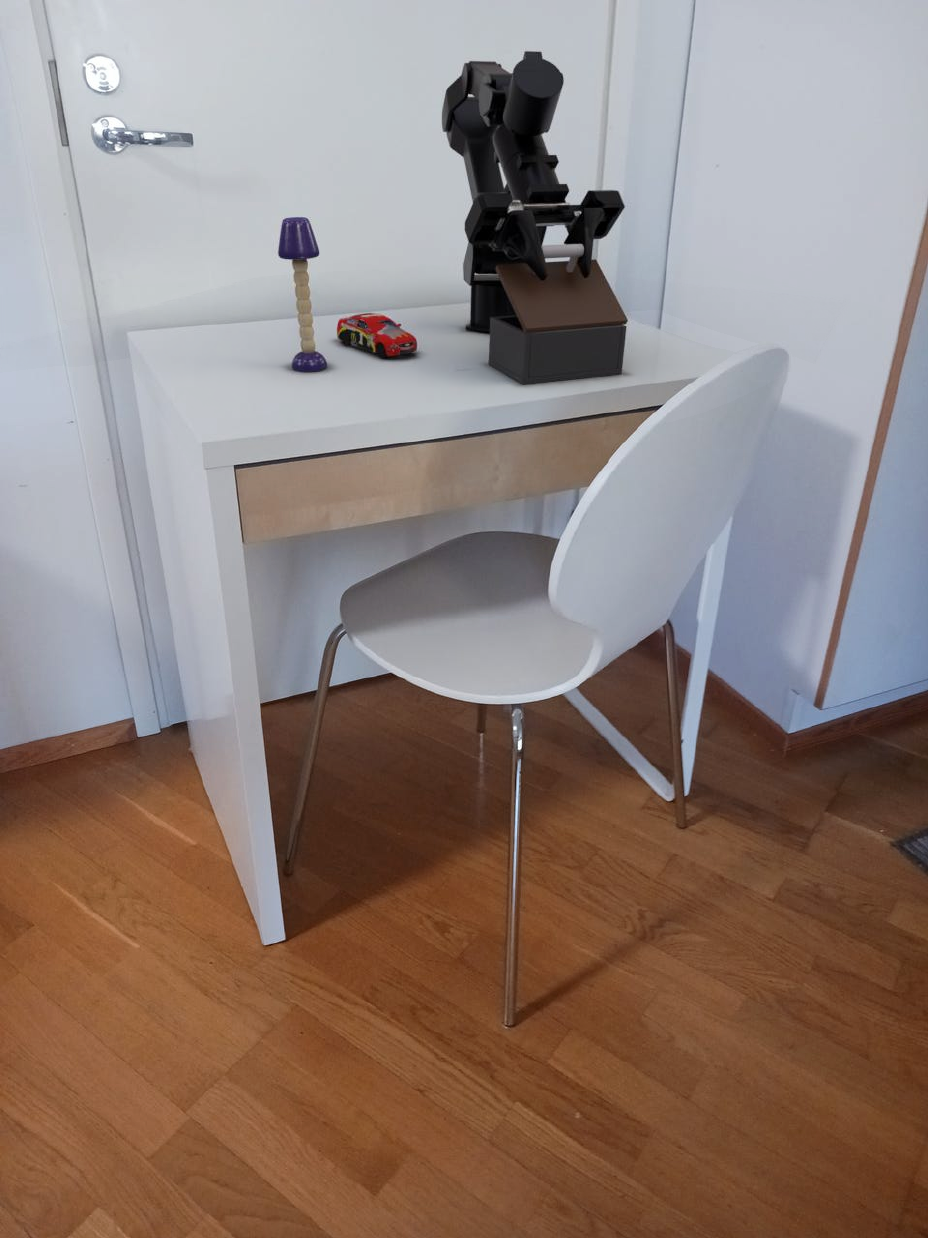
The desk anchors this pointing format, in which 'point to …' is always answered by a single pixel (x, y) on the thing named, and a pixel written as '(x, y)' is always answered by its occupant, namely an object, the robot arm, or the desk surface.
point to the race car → (376, 334)
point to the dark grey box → (555, 351)
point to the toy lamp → (302, 287)
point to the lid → (561, 293)
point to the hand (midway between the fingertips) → (566, 277)
